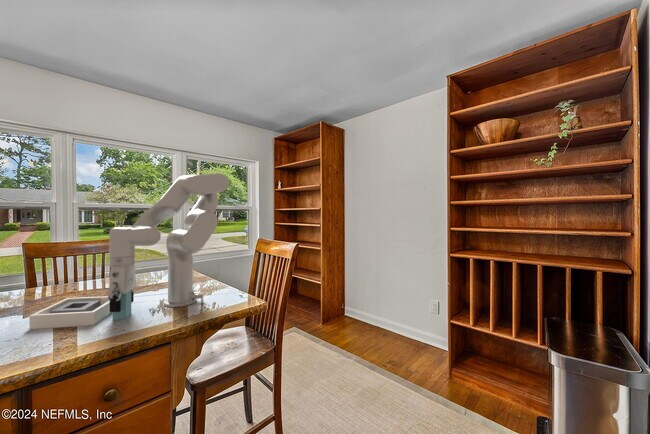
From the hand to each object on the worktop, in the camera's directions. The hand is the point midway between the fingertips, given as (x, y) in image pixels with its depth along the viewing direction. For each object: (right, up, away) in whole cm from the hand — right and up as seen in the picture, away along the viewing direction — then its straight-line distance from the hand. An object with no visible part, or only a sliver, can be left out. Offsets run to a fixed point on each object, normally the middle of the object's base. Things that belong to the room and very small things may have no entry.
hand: (122, 306), depth 100 cm
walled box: (-15, -4, 0) cm, 16 cm away
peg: (0, -4, 0) cm, 4 cm away
